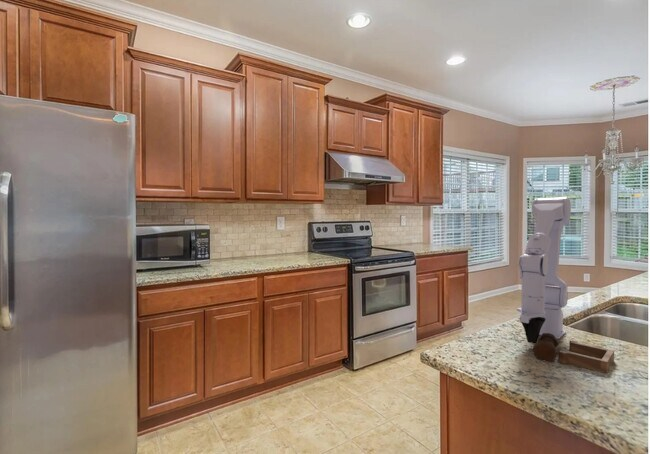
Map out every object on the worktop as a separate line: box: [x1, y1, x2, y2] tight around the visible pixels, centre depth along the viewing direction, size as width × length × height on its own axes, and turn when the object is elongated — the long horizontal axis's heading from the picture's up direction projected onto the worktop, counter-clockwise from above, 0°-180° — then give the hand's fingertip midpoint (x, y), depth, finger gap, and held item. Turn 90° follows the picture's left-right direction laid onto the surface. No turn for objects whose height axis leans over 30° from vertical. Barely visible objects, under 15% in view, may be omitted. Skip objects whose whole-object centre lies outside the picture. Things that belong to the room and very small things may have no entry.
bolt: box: [531, 333, 560, 363], centre depth 97 cm, size 6×5×15 cm
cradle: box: [557, 339, 615, 374], centre depth 91 cm, size 13×10×3 cm
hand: (532, 342), depth 100 cm, fingers closed
